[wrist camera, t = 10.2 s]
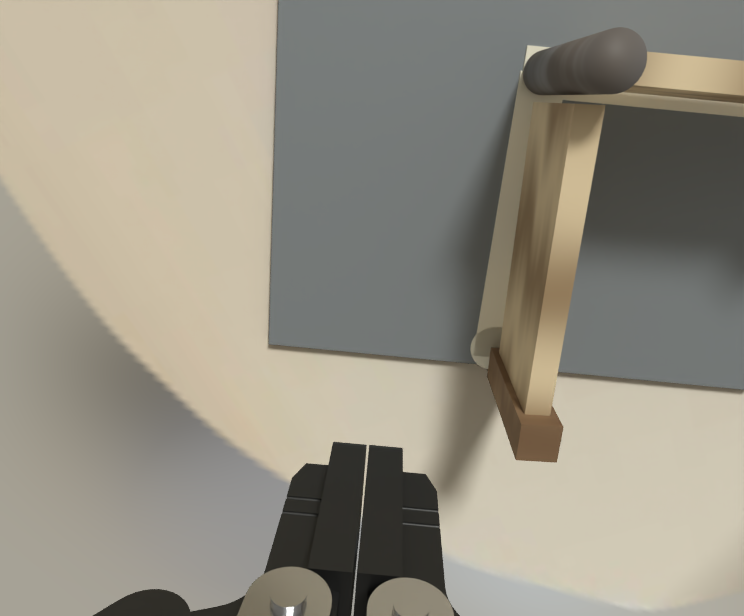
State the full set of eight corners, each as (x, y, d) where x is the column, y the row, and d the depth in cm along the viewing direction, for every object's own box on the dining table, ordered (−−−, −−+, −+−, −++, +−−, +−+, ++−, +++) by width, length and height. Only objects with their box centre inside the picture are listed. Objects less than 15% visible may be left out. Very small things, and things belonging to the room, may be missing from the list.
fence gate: (523, 101, 25) (572, 103, 18) (560, 103, 24) (624, 105, 18) (487, 375, 29) (515, 459, 22) (518, 377, 29) (556, 462, 22)
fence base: (857, 79, 24) (1082, 71, 16) (841, 123, 25) (1051, 136, 17) (526, 48, 24) (591, 24, 16) (519, 93, 25) (578, 91, 17)
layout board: (917, -86, 22) (928, -90, 22) (745, 390, 30) (751, 394, 29) (284, -146, 22) (282, -152, 22) (270, 344, 30) (268, 348, 29)
